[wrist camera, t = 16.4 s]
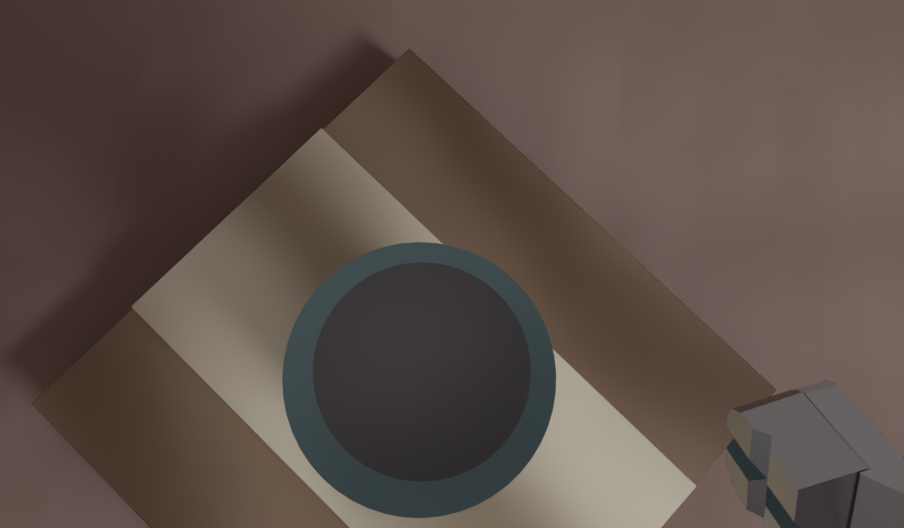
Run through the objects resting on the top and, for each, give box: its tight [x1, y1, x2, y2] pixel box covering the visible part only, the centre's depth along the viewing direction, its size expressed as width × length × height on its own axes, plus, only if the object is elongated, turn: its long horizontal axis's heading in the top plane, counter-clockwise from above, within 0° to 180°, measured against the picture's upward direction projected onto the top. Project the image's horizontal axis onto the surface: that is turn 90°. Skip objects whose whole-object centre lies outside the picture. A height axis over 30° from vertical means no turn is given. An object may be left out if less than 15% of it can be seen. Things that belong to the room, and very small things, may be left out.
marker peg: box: [282, 242, 556, 518], centre depth 16 cm, size 4×4×12 cm
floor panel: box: [31, 49, 776, 528], centre depth 23 cm, size 14×14×2 cm
